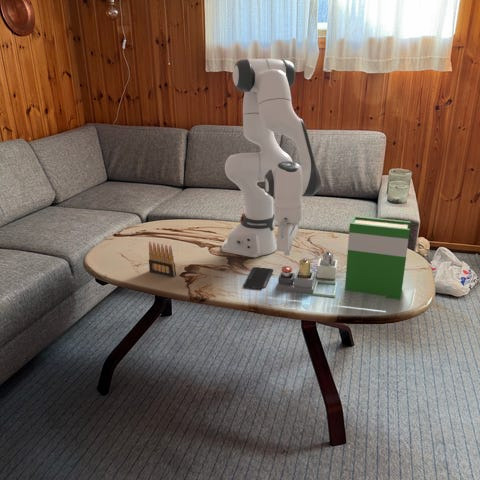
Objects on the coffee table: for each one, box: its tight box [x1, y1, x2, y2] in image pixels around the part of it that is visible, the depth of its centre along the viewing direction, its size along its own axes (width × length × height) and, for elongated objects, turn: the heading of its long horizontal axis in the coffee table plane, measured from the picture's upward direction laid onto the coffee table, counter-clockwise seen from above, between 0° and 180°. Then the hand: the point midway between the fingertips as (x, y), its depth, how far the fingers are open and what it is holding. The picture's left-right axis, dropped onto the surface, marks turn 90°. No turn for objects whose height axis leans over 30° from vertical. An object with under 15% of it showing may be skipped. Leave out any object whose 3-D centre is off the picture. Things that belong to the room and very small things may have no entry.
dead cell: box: [322, 251, 334, 267], centre depth 161 cm, size 4×4×9 cm
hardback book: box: [344, 215, 412, 301], centre depth 148 cm, size 18×7×24 cm, turn 69°
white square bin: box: [316, 257, 338, 280], centre depth 162 cm, size 6×6×5 cm
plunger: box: [281, 265, 293, 279], centre depth 155 cm, size 3×3×3 cm
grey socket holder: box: [276, 269, 317, 295], centre depth 155 cm, size 12×8×5 cm, turn 74°
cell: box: [298, 258, 311, 279], centre depth 153 cm, size 4×4×9 cm
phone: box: [242, 266, 274, 291], centre depth 162 cm, size 8×1×15 cm
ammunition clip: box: [148, 241, 177, 278], centre depth 165 cm, size 11×2×12 cm, turn 63°
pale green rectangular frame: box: [312, 279, 338, 298], centre depth 153 cm, size 7×9×1 cm
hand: (287, 253), depth 151 cm, fingers closed
